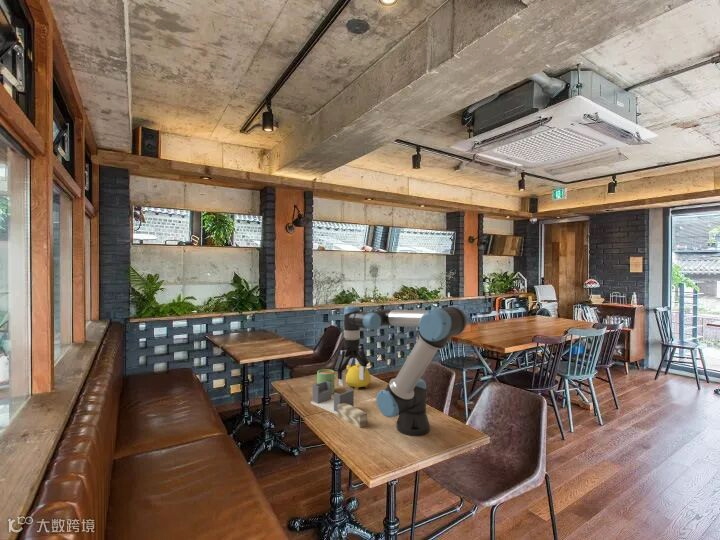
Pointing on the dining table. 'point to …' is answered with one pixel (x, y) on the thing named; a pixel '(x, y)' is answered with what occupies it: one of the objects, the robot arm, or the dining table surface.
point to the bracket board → (324, 397)
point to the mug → (326, 377)
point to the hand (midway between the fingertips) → (351, 382)
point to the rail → (352, 415)
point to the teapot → (357, 377)
